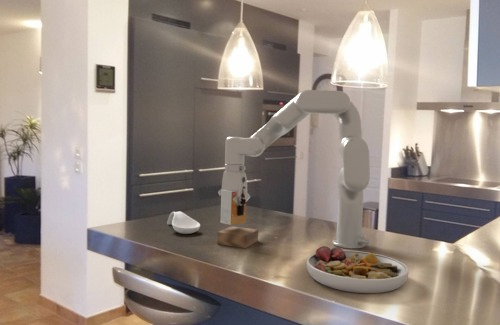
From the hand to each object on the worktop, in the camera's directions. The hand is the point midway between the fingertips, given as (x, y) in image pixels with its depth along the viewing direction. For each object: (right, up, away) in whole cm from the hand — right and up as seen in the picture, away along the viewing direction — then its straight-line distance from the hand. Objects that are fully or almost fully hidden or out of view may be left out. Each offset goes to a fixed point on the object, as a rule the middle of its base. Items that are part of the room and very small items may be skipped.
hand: (233, 213), depth 183 cm
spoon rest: (-23, -9, +18) cm, 31 cm away
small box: (0, -4, 0) cm, 4 cm away
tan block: (+2, -11, -1) cm, 12 cm away
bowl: (+39, -16, -41) cm, 59 cm away
